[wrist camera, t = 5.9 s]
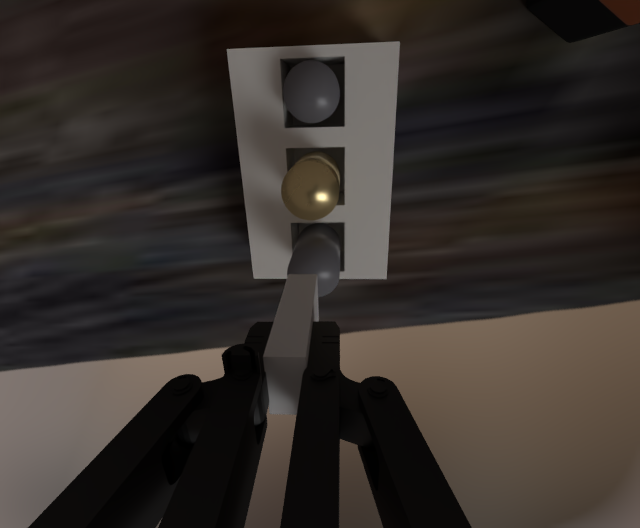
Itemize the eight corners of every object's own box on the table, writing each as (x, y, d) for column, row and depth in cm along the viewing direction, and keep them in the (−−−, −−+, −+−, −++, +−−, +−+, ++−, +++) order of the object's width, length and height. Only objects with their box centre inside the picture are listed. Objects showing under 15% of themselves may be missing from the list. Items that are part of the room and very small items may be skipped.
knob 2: (340, 222, 25) (339, 249, 20) (340, 263, 26) (339, 297, 22) (296, 223, 25) (285, 249, 20) (298, 263, 26) (288, 297, 22)
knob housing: (389, 54, 24) (399, 41, 20) (380, 253, 30) (386, 279, 26) (248, 59, 25) (226, 49, 20) (267, 253, 31) (253, 278, 26)
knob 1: (340, 68, 24) (339, 59, 19) (340, 119, 25) (339, 122, 20) (293, 70, 24) (281, 61, 19) (296, 121, 25) (285, 123, 20)
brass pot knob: (340, 150, 23) (339, 161, 18) (340, 198, 24) (339, 220, 19) (292, 151, 23) (278, 162, 18) (294, 198, 24) (283, 220, 20)
